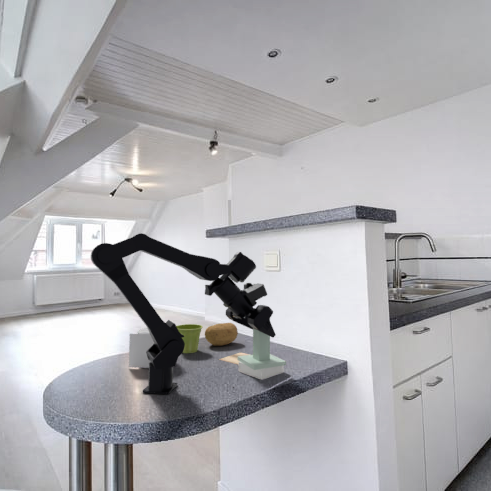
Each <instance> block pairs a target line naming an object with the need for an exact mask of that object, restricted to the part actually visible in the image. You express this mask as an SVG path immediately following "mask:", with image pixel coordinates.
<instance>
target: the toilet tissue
mask: <svg viewBox="0 0 491 491" xmlns="http://www.w3.org/2000/svg"><path fill="white" fill-rule="evenodd" d="M153 344H154V342H153V339H152V337H151V335H150V332H149V330H148V328H147V327H144V328H140V329H138V330H137V333H129V344H128V345H129V346H128V367H129V368H144V369H149V363H150V360H148V357H147V354H146V351H147V350H148V349H149V348H150V347H151V346H152V345H153Z"/></svg>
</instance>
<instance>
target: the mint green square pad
mask: <svg viewBox="0 0 491 491" xmlns="http://www.w3.org/2000/svg"><path fill="white" fill-rule="evenodd" d="M244 355H251V354H249V353H244V352H237V353H234V354H231V355H228V356H225V357H222V358H219V359H218V360H219V361H223V362H226V363H230V364H234V365H237V366H239V362H240V361H239V360H237V359H238V356H244Z"/></svg>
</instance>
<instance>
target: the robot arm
mask: <svg viewBox="0 0 491 491" xmlns="http://www.w3.org/2000/svg"><path fill="white" fill-rule="evenodd" d="M138 252H142V253H145V254H147V255H150V256H152V257H155V258H157V259H160V260H163V261H165V262H167V263H170V264H173V265H175V266H178V267H180V268H182V269H183V270H185V271H186V272H188V274H191V275H193V276H194V277H195V278H197V279H199V280H202V281H210V284H205V285H204V286H205V289H204V295H206V296H209V297H211V296H212V295H213V294H215V295H216V296H217V297H218V299H220V301H221V302H222V303H223V304H222V305H223V306H224V307H225V308H226V310H225V316H226V317H227V318H228V319H229V320H231V321H232V322H235V323H236V324H239V325H242V326H243V327H246V328H248V329H251V330H253V329H255V330H257V331H260V332H262V333H264V334H266V335H268V336H270V338H275V337H276V334H277V333H275V330H274V327H273V325H272V322H271V318H272V316H273V314H274V311H273V310H272V308H271V307H270V306H267V305H264V304H260V305H259V304H258V303H257V301H258V300H260V299H261V298H263V297H266V296H268V293H267V292H268V291H267V290H266V287H265V285H264V283H253V284H252V282H246V283H244V282H245V281H246V279H247V278H248V277H249V276H250V275H251V274H252V273H253V272H254V271H255V270H256V269H257V265H256V262H254V260H252V259H251V258H249V257H248V256H246V255H245V254H243V253H242V251H237V252H236V253H235V254H234V255H233V257H232V258H231V259H230V260H229V261H228V263H224V264H223V263H221V262H220V261H219V260H217V259H215V258H212V257H207V256H203V255H196V254H193V253H189V252H187V251H183V250H181V249H179V248H177V247H174V246H172V245H169V244H167V243H164V242H162V241H160V240H158V239H155V238H152V237H150V236H148V235H147V234H146V233H141V232H140V233H138V234H135V235H133V236H131V237H129V238H127V239H124V240H121V241H119V242H117V243H113V244H112V243H110V242H109V243H107V242H103V243H100V244H98V245H97V246H95V247H94V248H93V249H92V250H91V253H90V260H91V262H92V264H93V265H94V266H95V267H96V268H97V269H98V270H99V271H100V272H101V273H102V274H104V275H105V276H106V277H107V278H108V279H109V280H110V281H112V283H113V284H114V285H115V286H116V287H117V289H118V290H119V291H120V293H121V294H122V295H123V297H124V298H125V299H126V300H127V302H128V304H129V306H130V307H131V308H132V309H133V310H134V312H135V313H136V314H137V315H138V317H139V319H141V321H142V322H143V323H144V324H143V325H145V326H146V328H148V330H149V332H150V335H151V337H152V339H153V342H154V344H153V345H152V346H151V347H150V348H149V349H148V350H147V351H146V354H147V357H148V360H150V363H149V368H148V385H147V386H145V388H144V389H142V393H144V394H146V393H147V394H156V395H157V394H158V395H170V394H171V393H172V392H173V391H174V389H175V388H176V387H178V382H173V379H174V367H176V364H177V362H178V359H179V357H180V356H181V355H182V354H183V353H182V352H183V350H184V346H185V343H184V340H183V339H182V337H184V335H182V334H181V333H180V332H179V331H178V329H177V327H176V326H177V324H176V323H175V322H172V321H171V320H170V319H168V320H167V321H166V322H165V321H164V320H163V319H162V318H161V317H160V315H159V313H158V312H157V311H156V310H155V309H154V307H153V305H152V304H151V302H150V301H149V300H148V298H147V297H146V296H145V294H144V293H143V291H142V290H141V289H140V287H139V286H138V285H137V283H136V282H135V281H134V280H133V278H132V277H131V275H130V274H129V272H128V268H127V266H126V263H125V261H124V258H126V257H128V256H130V255H133V254H136V253H138ZM239 282H240V283H244V284H243V289H242V290H241V288H240V287H238V285H237V284H238V283H239ZM236 283H237V284H236ZM257 304H258V305H257ZM256 305H257V306H256ZM255 306H256V307H255Z"/></svg>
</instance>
